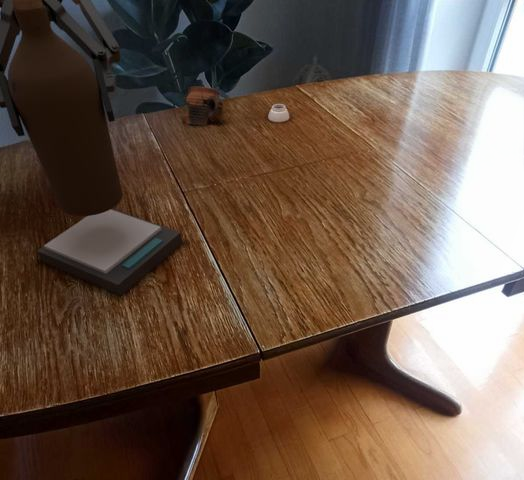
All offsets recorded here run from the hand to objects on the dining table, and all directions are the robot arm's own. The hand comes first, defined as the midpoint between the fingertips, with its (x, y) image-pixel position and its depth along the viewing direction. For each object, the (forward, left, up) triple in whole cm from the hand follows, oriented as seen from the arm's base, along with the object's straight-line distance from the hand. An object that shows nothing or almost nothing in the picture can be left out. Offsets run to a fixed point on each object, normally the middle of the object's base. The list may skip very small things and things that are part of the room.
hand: (65, 123), depth 58 cm
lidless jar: (-3, +61, -22) cm, 65 cm away
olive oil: (-2, +2, -12) cm, 13 cm away
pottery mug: (-18, +52, -22) cm, 60 cm away
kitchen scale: (-1, +2, -21) cm, 22 cm away
